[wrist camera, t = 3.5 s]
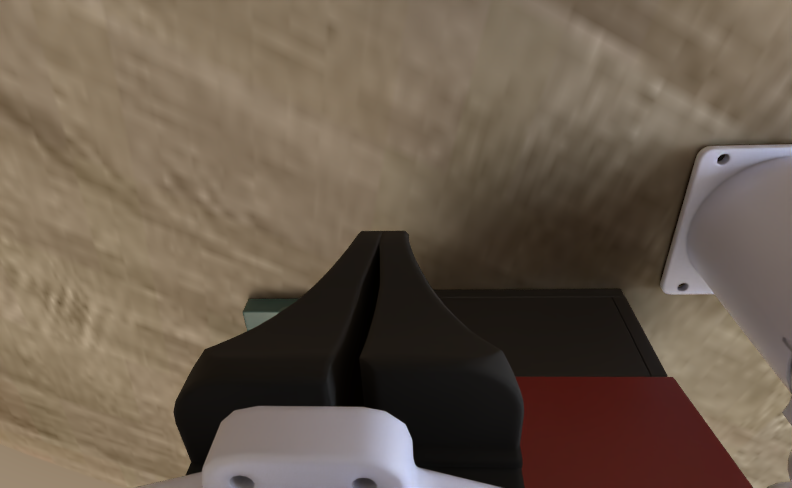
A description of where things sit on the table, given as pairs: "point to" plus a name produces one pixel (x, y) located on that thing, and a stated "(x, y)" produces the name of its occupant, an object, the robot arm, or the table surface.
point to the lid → (618, 436)
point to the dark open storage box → (559, 331)
